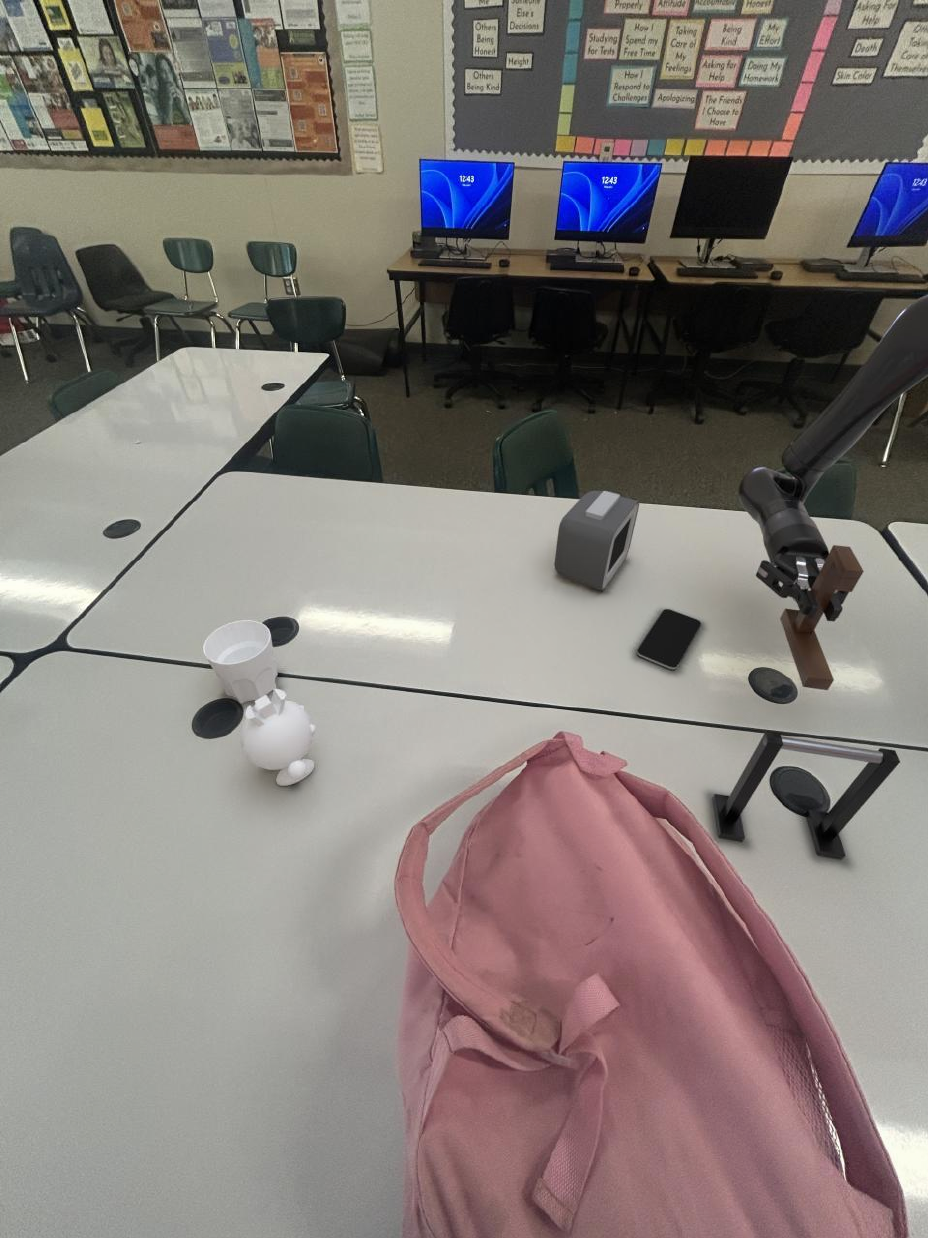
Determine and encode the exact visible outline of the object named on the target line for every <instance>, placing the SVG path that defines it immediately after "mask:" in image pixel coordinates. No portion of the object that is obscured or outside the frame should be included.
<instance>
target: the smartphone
mask: <svg viewBox="0 0 928 1238" xmlns="http://www.w3.org/2000/svg"><path fill="white" fill-rule="evenodd" d="M701 626H702V622H701V621H700V620H699V619H697V618H694V617H691V616H689V615H686V614H683V613H680V612H678V611H675V610H673V609H669V608H665V609H662V612H661V613H660V615H659V616H658V617H657V619H656V621H655V622H654V623H653V625H652V627H651V628H650V630H649V631H648V633H647V634H646V635H645V637H644V639H643V640H642V642H641V644H640V645H639V646H638V648H637V650H636V655H638V656H639V657H640V658H643V659H645V660H648V661H649V662H652V663H655V664H657V665H660V666H663V667H664V668H666V669H668V670H676V669H678V667H679V665H680V663H682V660H683V659H684V657H685V655H686V653H687V652H688V650H689V648H690V646H691V644H692V642H693V640H694V639H695V637H696V635H697V634H698V632H699V630H700V628H701Z"/></svg>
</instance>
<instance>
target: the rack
mask: <svg viewBox="0 0 928 1238" xmlns="http://www.w3.org/2000/svg"><path fill="white" fill-rule="evenodd" d="M781 750H786V751H793V752H800V753H807V754H813V755H817V756H818V755H819V756H826V757H832V758H838V759H844V760H845V759H846V760H852V761H859V762H864V763H866V764H865V766H864V767H863V769H862V770H861V771H860V772H859V774H857V776H856V777H855V778H854V779H853V781H852V782H851V783H850V785H849V786H848V787H847V789H846V790H845V791H844V792H843V794H842V795H841V796H840V797H839V798H838V799H837V801H836V802H835V804H834V805H833V806H832V807H831V809H830V810H829V811H827V812H826V811H821V810H815V809H806V812H805V817H806V820H807V823H808V827H809V830H810V834H811V838H812V841H813V845H814V848H815V851H816V852H815V853H816V856H821V857H827V858H833V859H838V860H843V859H844V858H845V857H846V852H845V850H844V846H843V843H842V840H841V837H840V833H841V832H842V830H843V829H844V828H845V827H846V826H847V825H848V824H849V822H850V821H851V820H852V819H853V818H854V817H855V815H856V814H857V813H858V812H859V811H860V810H861V808H862V807H863V806H864V805H865V804H866V803H867V801H869V799H870V798H871V797H872V796H873V794H875V792H876V791H877V790H878V789H879V787H881V785H883V783H884V782H885V780H886V779H887V778H888V777H889V776H890V775H891V773H892V772H893V771H894V770H895V769H896V768H897V767H898V765H899V764H900V763H901V760H900V758H899V756H898V753H897V751H896V749H889V748H883V747H882V748H881V747H880V748H878V749H877V750H876V749H875V750H874V749H869V748H862V747H855V746H849V745H842V744H835V743H834V744H833V743H829V742H822V741H815V740H808V739H801V738H794V737H790V736H789V737H788V736H782V734H781V733H780V732H776V731H768V730H765V732H764V733H763V735H762V737H761V739H760V741H759V743H758V744H757V746H756V748H755V750H754V751H753V753H752V755H751V757H750V759H749V760H748V761H747V763H746V765H745V767H744V769H743V771H742V773H741V775H740V776H739V777H738V780H737V782H736V783H735V785H734V787H733V789H732V791H731V792H730V794H729V795H725V794H718V793H714V794H713V796H712V803H713V809H714V816H715V823H716V830H717V835H718V838H721V839H724V840H725V839H726V840H731V841H735V842H736V841H737V842H743V841H745V838H746V836H745V831H744V826H743V821H742V814H743V812H744V810H745V808H747V805H748V803H749V802H750V800H751V799H752V797H753V795H754V794H755V792H756V791H757V789H758V788H759V785H760V784H761V782H762V780H763V779H764V777H765V776H766V774H767V772H768V771H769V769H770V767H771V766H772V765H773V762H774V760H775V759H776V757H777V756H778V754H779V753H780V751H781Z"/></svg>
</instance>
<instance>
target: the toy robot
mask: <svg viewBox="0 0 928 1238" xmlns="http://www.w3.org/2000/svg"><path fill="white" fill-rule="evenodd" d="M272 691H273V692H272V697H271V700H270V699H269V696H268V694H266V695H265V696H263V697H261V698H259V699H258V700H254V703H255V704H254V705H253V706H252V705H251V704H249V705H248V706H247V708H246V709H245V713H244V714H245V717H246V718H245V719H244V721H243V724H242V726H241V734H240V741H239V743H240V745H241V747H242V749H243V750H242V751H243V753H244V755H245V757H246V759H247V760H248V761H250V762H251V763H252V764H253V765H255V766H257V767H259V768H261V769H264V770H268V771H275V770H276V771H277V770H279V772H278V773H277V775H276V779H275V781H276V784H277V785H278V786H280V787H285V786H286V787H287V786H291V785H293V784H296V783H299V782H301V781H302V780H304V779H305V778H307V777H308V776H309V775H310V774H311V773H312V772H313V770H314V768H315V762H314V761H313V760H311V759H308V758H304V756H305V755H306V754H307V753H308V752H309V749H310V747H311V745H312V742H313V739H314V734H315V733H316V731H317V727H316V725H314V724H313V722H312V718H311V717H310V714H309V712H308V711H307V710H306V708H305V706H304V705H302V704H301V705H299V704H298V703H297V702H295V701H292V700H287V694H286V692H285V691H284V690H283V689H280V688H277V689H274V690H272Z"/></svg>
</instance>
